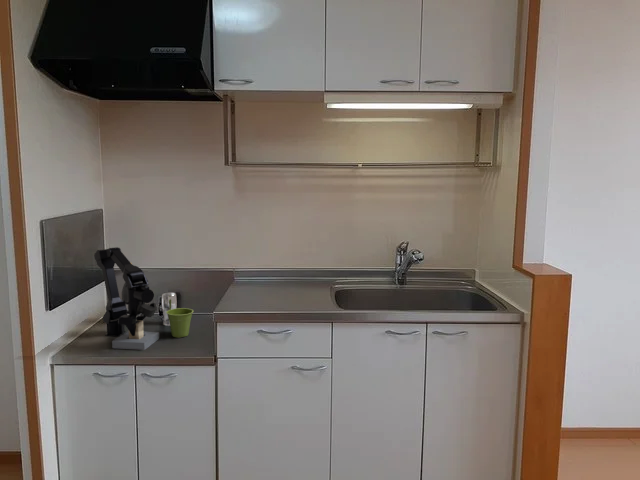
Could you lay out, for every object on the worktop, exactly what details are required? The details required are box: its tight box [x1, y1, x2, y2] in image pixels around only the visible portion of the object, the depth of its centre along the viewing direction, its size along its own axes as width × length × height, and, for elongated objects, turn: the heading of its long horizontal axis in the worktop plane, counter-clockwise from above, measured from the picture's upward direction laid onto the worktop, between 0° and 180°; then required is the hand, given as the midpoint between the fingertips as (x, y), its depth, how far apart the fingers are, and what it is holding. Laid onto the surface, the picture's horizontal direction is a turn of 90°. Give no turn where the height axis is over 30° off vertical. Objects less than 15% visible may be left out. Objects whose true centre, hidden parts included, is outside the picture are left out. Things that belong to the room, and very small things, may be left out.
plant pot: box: [166, 307, 194, 338], centre depth 212 cm, size 12×12×11 cm
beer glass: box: [161, 291, 178, 327], centre depth 228 cm, size 7×7×15 cm
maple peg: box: [128, 320, 144, 339], centre depth 201 cm, size 4×4×8 cm
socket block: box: [111, 330, 160, 351], centre depth 201 cm, size 14×14×3 cm
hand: (136, 334), depth 201 cm, fingers closed on maple peg, 4 cm apart
